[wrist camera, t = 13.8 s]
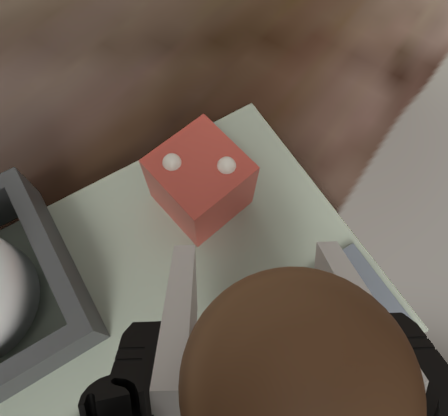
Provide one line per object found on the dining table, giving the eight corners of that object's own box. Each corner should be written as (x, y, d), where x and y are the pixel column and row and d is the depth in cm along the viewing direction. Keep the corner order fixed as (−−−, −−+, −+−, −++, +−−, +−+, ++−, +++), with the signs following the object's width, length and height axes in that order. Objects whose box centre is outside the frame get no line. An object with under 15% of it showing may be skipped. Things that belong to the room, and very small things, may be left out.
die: (151, 195, 22) (136, 155, 18) (205, 154, 23) (203, 108, 19) (197, 247, 21) (193, 217, 17) (252, 201, 22) (260, 163, 18)
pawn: (184, 356, 17) (87, 328, 6) (283, 293, 17) (346, 173, 7) (249, 478, 15) (267, 730, 4) (355, 401, 16) (584, 458, 5)
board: (-141, 296, 21) (-223, 278, 17) (241, 103, 26) (246, 56, 22) (-37, 669, 15) (-122, 769, 12) (417, 332, 21) (464, 323, 17)
